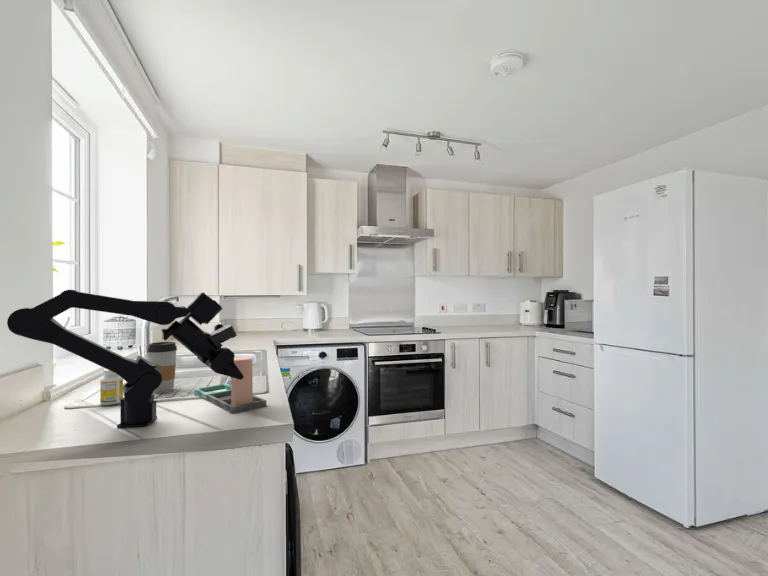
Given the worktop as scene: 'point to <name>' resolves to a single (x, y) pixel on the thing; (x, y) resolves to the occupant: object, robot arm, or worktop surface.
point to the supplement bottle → (111, 388)
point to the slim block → (242, 383)
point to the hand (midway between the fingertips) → (237, 375)
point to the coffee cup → (164, 363)
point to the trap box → (227, 398)
